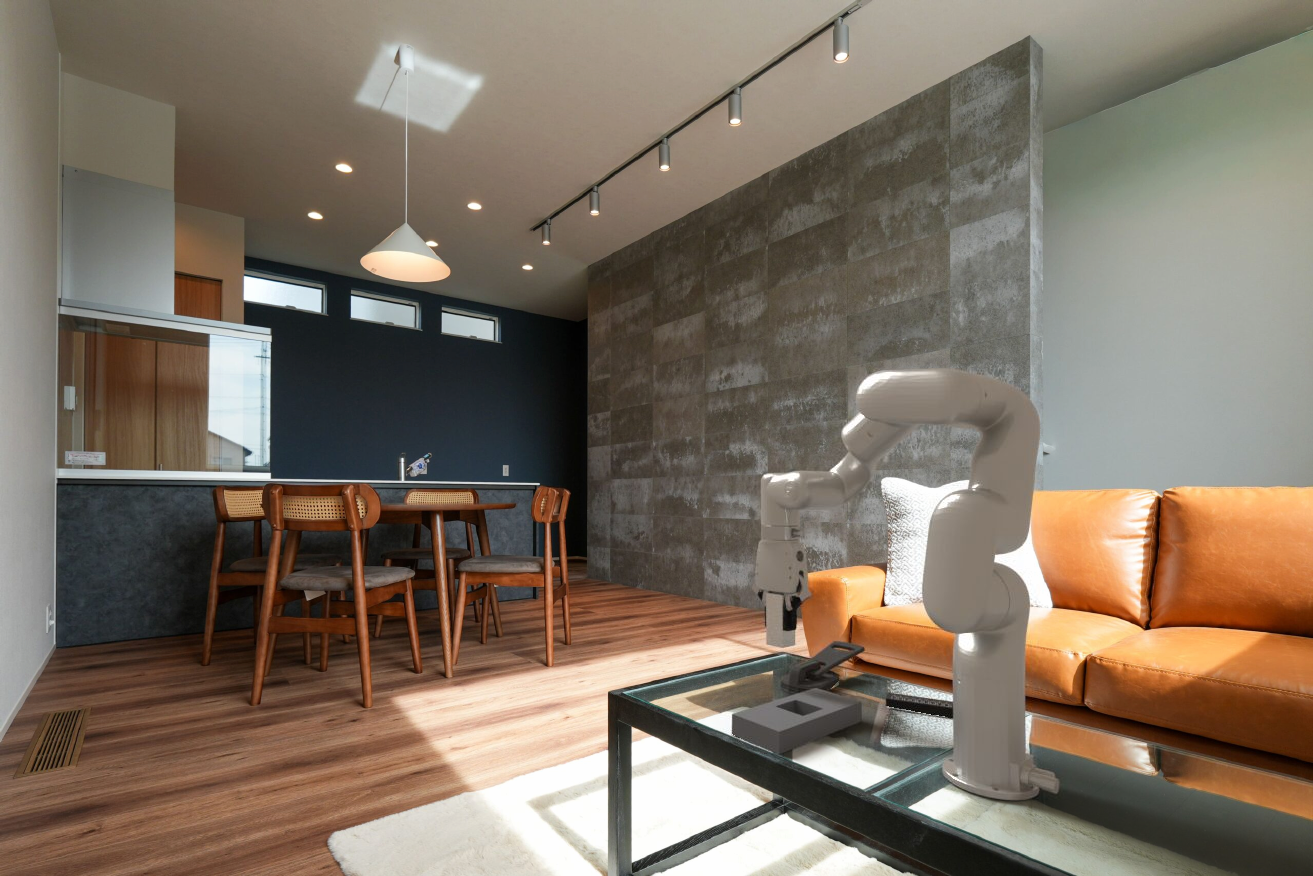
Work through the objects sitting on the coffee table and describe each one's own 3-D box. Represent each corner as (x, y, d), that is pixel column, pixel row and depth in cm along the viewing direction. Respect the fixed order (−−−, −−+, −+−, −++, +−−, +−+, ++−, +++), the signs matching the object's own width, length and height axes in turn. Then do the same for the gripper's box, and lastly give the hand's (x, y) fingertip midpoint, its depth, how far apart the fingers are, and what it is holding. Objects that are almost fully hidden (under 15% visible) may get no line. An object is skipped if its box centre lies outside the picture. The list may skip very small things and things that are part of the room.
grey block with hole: (861, 721, 118) (861, 701, 118) (779, 754, 102) (779, 731, 103) (815, 706, 126) (815, 687, 126) (731, 735, 110) (732, 714, 110)
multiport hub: (887, 703, 130) (887, 692, 130) (967, 715, 124) (967, 703, 124) (885, 710, 126) (885, 698, 126) (968, 723, 120) (968, 710, 120)
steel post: (795, 645, 128) (794, 593, 129) (782, 648, 125) (782, 595, 126) (779, 641, 131) (778, 591, 132) (766, 644, 128) (766, 592, 129)
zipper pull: (868, 646, 148) (812, 666, 130) (868, 676, 148) (812, 700, 130) (833, 639, 155) (774, 657, 137) (833, 667, 154) (774, 689, 136)
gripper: (826, 536, 126) (827, 633, 124) (759, 532, 139) (759, 620, 137) (803, 537, 121) (804, 638, 119) (736, 533, 134) (736, 624, 132)
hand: (780, 627), depth 128 cm, fingers closed on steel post, 4 cm apart
